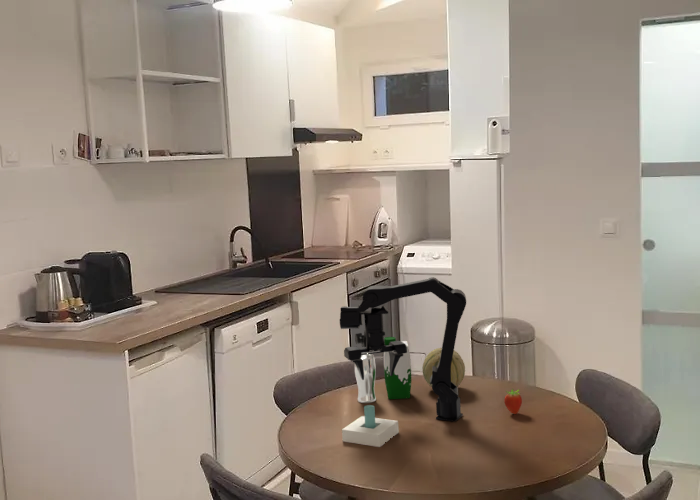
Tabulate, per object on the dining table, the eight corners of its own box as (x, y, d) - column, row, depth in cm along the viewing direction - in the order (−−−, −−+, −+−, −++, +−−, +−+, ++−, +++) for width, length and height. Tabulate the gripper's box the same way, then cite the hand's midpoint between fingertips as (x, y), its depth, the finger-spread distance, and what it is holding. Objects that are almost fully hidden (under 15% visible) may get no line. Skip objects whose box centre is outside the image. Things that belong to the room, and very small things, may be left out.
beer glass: (375, 403, 244) (373, 359, 242) (354, 403, 246) (352, 359, 244) (378, 397, 251) (376, 353, 249) (358, 396, 252) (356, 353, 251)
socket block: (398, 432, 217) (398, 420, 217) (379, 447, 207) (379, 434, 206) (362, 427, 223) (362, 416, 223) (342, 441, 213) (341, 429, 212)
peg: (377, 435, 215) (376, 405, 214) (373, 439, 213) (371, 408, 212) (368, 434, 217) (367, 404, 216) (363, 437, 214) (362, 407, 213)
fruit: (517, 417, 224) (517, 391, 223) (502, 415, 227) (501, 389, 226) (525, 412, 228) (524, 387, 227) (509, 409, 231) (508, 384, 230)
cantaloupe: (443, 380, 265) (441, 339, 263) (475, 389, 254) (473, 346, 252) (413, 390, 256) (411, 348, 254) (445, 399, 244) (443, 355, 243)
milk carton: (385, 392, 256) (382, 335, 253) (411, 391, 255) (408, 334, 253) (385, 400, 247) (382, 341, 245) (413, 399, 247) (410, 340, 244)
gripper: (394, 319, 237) (396, 367, 239) (338, 326, 232) (340, 374, 234) (406, 326, 226) (409, 376, 228) (347, 333, 221) (350, 384, 223)
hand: (377, 377), depth 228 cm, fingers open, 9 cm apart
